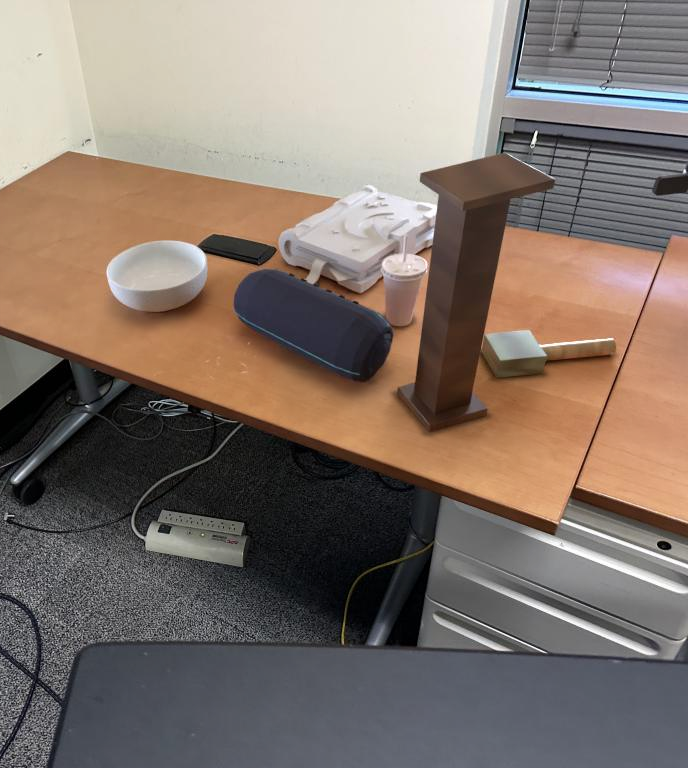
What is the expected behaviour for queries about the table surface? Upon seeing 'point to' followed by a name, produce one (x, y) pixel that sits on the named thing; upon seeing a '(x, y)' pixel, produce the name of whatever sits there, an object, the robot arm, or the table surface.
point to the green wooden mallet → (535, 352)
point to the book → (358, 237)
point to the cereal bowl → (158, 275)
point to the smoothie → (402, 285)
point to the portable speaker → (315, 323)
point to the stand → (463, 281)
